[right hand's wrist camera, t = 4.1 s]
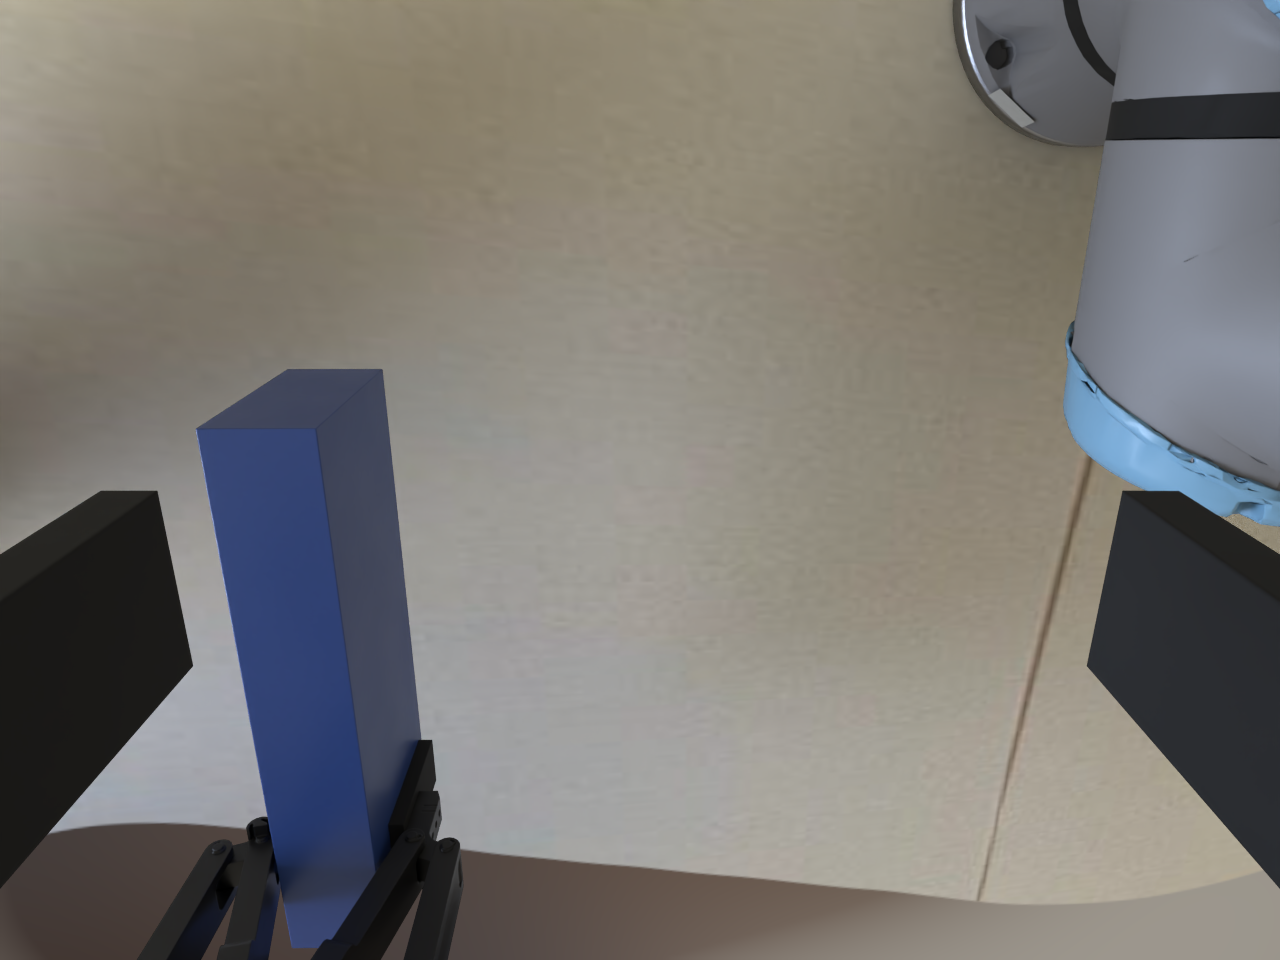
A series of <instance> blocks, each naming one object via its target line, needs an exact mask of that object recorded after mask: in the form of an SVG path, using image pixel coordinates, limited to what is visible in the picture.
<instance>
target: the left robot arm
mask: <svg viewBox="0 0 1280 960" xmlns="http://www.w3.org/2000/svg"><path fill="white" fill-rule="evenodd" d="M435 782H436V774H435V764H434V754H433V744H432V740H418V743H417V746H416V749H415V751H414V754H413V757H412V760H411V763H410V765H409V768H408V771H407V774H406V776H405V779H404V782H403V785H402V787H401V790H400V793H399V796H398V799H397V801H396V804H395V807H394V810H393V812H392V815H391V818H390V821H389V824H388V828H389V836H390V844H391V850H390V852H389V853H388V855H387V856H386V858H385V859H384V861H383V862H382V864H381V865H380V867H379V868H378V870H377V871H376V873H375V874H374V876H373V877H372V879H371V881H370V882H369V884H368V885H367V887H366V888H365V890H364V891H363V893H362V894H361V896H360V897H359V899H358V900H357V902H356V903H355V905H354V906H353V908H352V909H351V911H350V912H349V914H348V916H347V917H346V919H345V920H344V922H343V923H342V925H341V926H340V928H339V929H338V931H337V932H336V934H335V935H334V937H333V938H332V939H331V940H329V939H326V940H324V941H323V942H322V943H321V945H320V946H319V948H318V949H317V951H316V952H315V954H314V955H313V957H312V959H311V960H381V958H382V957H383V955H384V953H385V951H386V950H387V948H388V946H389V945H390V943H391V941H392V939H393V937H394V936H395V934H396V932H397V931H398V929H399V927H400V926H401V924H402V922H403V920H404V919H405V917H406V915H407V914H408V912H409V910H410V908H411V906H412V905H413V903H414V901H415V900H416V898H417V896H418V895H419V893H420V891H421V889H423V890H422V894H421V898H420V901H419V905H418V909H417V912H416V916H415V920H414V924H413V927H412V931H411V935H410V938H409V942H408V946H407V949H406V953H405V957H404V960H448V955H449V951H450V946H451V941H452V937H453V932H454V928H455V923H456V918H457V914H458V909H459V904H460V900H461V895H462V890H463V873H462V862H461V852H460V843H459V841H458V840H457V839H455V838H444V839H442V840H439V841H438V842H437V841H436V838H437V835H438V831H439V827H440V824H441V820H442V816H441V806H440V797H439V793H438V791H433V788H434V785H435ZM246 829H247V834H248V839H249V841H248V842H245V843H242V844H237V845H233V846H232V843H231V842H230V841H229V840H218V841H215V842H213V843H212V844H210V845H209V846H208V847H207V848H206V849H205V851H204V853H203V854H202V856H201V857H200V859H199V860H198V862H197V864H196V865H195V867H194V869H193V870H192V872H191V873H190V875H189V877H188V878H187V880H186V881H185V883H184V885H183V886H182V888H181V890H180V891H179V893H178V894H177V896H176V898H175V899H174V901H173V903H172V904H171V906H170V907H169V909H168V911H167V912H166V914H165V915H164V917H163V919H162V920H161V922H160V923H159V925H158V927H157V928H156V930H155V932H154V933H153V935H152V936H151V938H150V940H149V941H148V943H147V944H146V946H145V948H144V949H143V951H142V953H141V954H140V956H139V957H138V959H137V960H201V959H202V957H203V955H204V953H205V951H206V949H207V948H208V946H209V944H210V942H211V940H212V938H213V936H214V935H215V933H216V931H217V929H218V927H219V925H220V924H221V922H222V920H223V918H224V916H225V914H226V912H227V911H228V909H229V907H230V905H231V903H232V901H233V900H234V898H235V902H234V906H233V910H232V915H231V919H230V923H229V927H228V932H227V936H226V940H225V944H224V945H222V946H221V947H220V949H219V952H218V956H217V960H268V957H269V951H270V946H271V940H272V934H273V929H274V922H275V917H276V911H277V906H278V900H279V894H280V888H281V886H280V880H279V875H278V870H277V864H276V859H275V854H274V848H273V843H272V837H271V832H270V827H269V821H268V817H260V818H256V819H254V820H252V821H251V822H250V823H249V824H248V825H247V827H246ZM235 896H236V897H235Z"/></svg>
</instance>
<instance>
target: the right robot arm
mask: <svg viewBox="0 0 1280 960" xmlns="http://www.w3.org/2000/svg"><path fill="white" fill-rule="evenodd" d="M953 22H954V31H955V38H956V44H957V48H958V52H959V56H960V59H961V62H962V64H963V67H964V70H965V72H966V74H967V76H968V79H969V81H970V83H971V84H972V86H973V88H974V89H975V91H976V93H977V94H978V96H979V97H980V98H981V100H982V101H983V102H984V104H985V105H986V106H987V107H988V108H989V109H990V110H991V111H992V112H993V113H994V114H995V115H996V116H997V117H998V118H999V119H1000V120H1002V121H1003V122H1004V123H1005V124H1007V125H1008V126H1010V127H1011V128H1013V129H1014V130H1016V131H1018V132H1020V133H1022V134H1024V135H1026V136H1028V137H1030V138H1033V139H1036V140H1038V141H1041V142H1045V143H1049V144H1054V145H1061V146H1078V147H1088V146H1104V149H1103V155H1102V161H1101V167H1100V173H1099V179H1098V185H1097V191H1096V197H1095V203H1094V209H1093V215H1092V221H1091V227H1090V233H1089V239H1088V245H1087V251H1086V257H1085V263H1084V269H1083V275H1082V281H1081V287H1080V293H1079V299H1078V305H1077V311H1076V317H1075V321H1073V322H1072V323H1071V324H1070V326H1069V328H1068V331H1067V335H1066V341H1065V345H1066V350H1067V358H1068V368H1067V376H1066V384H1065V393H1064V401H1063V408H1064V415H1065V418H1066V420H1067V422H1068V427H1069V429H1070V431H1071V433H1072V436H1073V438H1074V439H1075V441H1076V442H1077V443H1078V445H1079V446H1080V447H1081V448H1082V449H1083V450H1084V451H1085V452H1086V453H1087V454H1088V455H1089V456H1090V457H1091V458H1092V459H1093V460H1095V461H1096V462H1097V463H1099V464H1100V465H1101V466H1103V467H1104V468H1105V469H1107V470H1108V471H1110V472H1112V473H1113V474H1115V475H1117V476H1118V477H1120V478H1122V479H1124V480H1126V481H1128V482H1129V483H1131V484H1133V485H1135V486H1137V487H1140V488H1142V489H1144V490H1146V491H1123V492H1122V497H1121V501H1120V506H1119V511H1118V516H1117V521H1116V526H1115V531H1114V536H1113V541H1112V545H1111V550H1110V555H1109V560H1108V565H1107V570H1106V575H1105V580H1104V585H1103V589H1102V594H1101V599H1100V604H1099V609H1098V614H1097V619H1096V624H1095V629H1094V634H1093V638H1092V643H1091V648H1090V653H1089V658H1088V663H1087V667H1088V668H1089V669H1090V670H1091V671H1092V672H1093V674H1094V675H1095V676H1096V677H1097V678H1098V679H1099V681H1100V682H1101V683H1102V684H1103V685H1104V686H1105V687H1106V689H1107V690H1108V691H1109V692H1110V693H1111V694H1112V696H1113V697H1114V698H1115V699H1116V700H1117V701H1118V702H1119V704H1120V705H1121V706H1122V707H1123V708H1124V709H1125V711H1126V712H1127V713H1128V714H1129V715H1130V716H1131V717H1132V719H1133V720H1134V721H1135V722H1136V723H1137V724H1138V726H1139V727H1140V728H1141V729H1142V730H1143V731H1144V732H1145V734H1146V735H1147V736H1148V737H1149V738H1150V739H1151V741H1152V742H1153V743H1154V744H1155V745H1156V746H1157V747H1158V749H1159V750H1160V751H1161V752H1162V753H1163V754H1164V756H1165V757H1166V758H1167V759H1168V760H1169V761H1170V762H1171V764H1172V765H1173V766H1174V767H1175V768H1176V769H1177V771H1178V772H1179V773H1180V774H1181V775H1182V776H1183V777H1184V779H1185V780H1186V781H1187V782H1188V783H1189V784H1190V786H1191V787H1192V788H1193V789H1194V790H1195V791H1196V792H1197V794H1198V795H1199V796H1200V797H1201V798H1202V799H1203V801H1204V802H1205V803H1206V804H1207V805H1208V806H1209V807H1210V809H1211V810H1212V811H1213V812H1214V813H1215V814H1216V816H1217V817H1218V818H1219V819H1220V820H1221V821H1222V822H1223V824H1224V825H1225V826H1226V827H1227V828H1228V829H1229V831H1230V832H1231V833H1232V834H1233V835H1234V836H1235V837H1236V839H1237V840H1238V841H1239V842H1240V843H1241V844H1242V846H1243V847H1244V848H1245V849H1246V850H1247V851H1248V852H1249V854H1250V855H1251V856H1252V857H1253V858H1254V859H1255V861H1256V862H1257V863H1258V864H1259V865H1260V866H1261V867H1262V869H1263V870H1264V871H1265V872H1266V873H1267V874H1268V876H1269V877H1270V878H1271V879H1272V880H1273V881H1274V882H1275V884H1276V885H1277V886H1278V887H1279V888H1280V554H1278V553H1277V552H1275V551H1273V550H1272V549H1270V548H1269V547H1267V546H1265V545H1264V544H1262V543H1261V542H1259V541H1258V540H1256V539H1254V538H1253V537H1251V536H1250V535H1248V534H1246V533H1245V532H1243V531H1242V530H1240V529H1239V528H1237V527H1235V526H1234V525H1232V524H1231V523H1229V522H1228V521H1226V520H1224V519H1223V518H1221V517H1220V516H1224V517H1228V516H1230V515H1231V514H1241V515H1243V516H1245V517H1248V518H1250V519H1252V520H1254V521H1255V522H1257V523H1259V524H1263V525H1271V526H1278V527H1280V0H953ZM1218 515H1219V516H1218ZM192 667H193V663H192V658H191V653H190V648H189V643H188V638H187V634H186V629H185V624H184V619H183V614H182V609H181V604H180V599H179V594H178V589H177V585H176V580H175V575H174V570H173V565H172V560H171V555H170V550H169V545H168V541H167V536H166V531H165V526H164V521H163V516H162V511H161V506H160V501H159V497H158V492H157V491H100V492H98V493H97V494H95V495H94V496H92V497H90V498H89V499H87V500H86V501H84V502H83V503H81V504H79V505H78V506H76V507H75V508H73V509H71V510H70V511H68V512H67V513H65V514H64V515H62V516H60V517H59V518H57V519H56V520H54V521H52V522H51V523H49V524H48V525H46V526H45V527H43V528H41V529H40V530H38V531H37V532H35V533H33V534H32V535H30V536H29V537H27V538H26V539H24V540H22V541H21V542H19V543H18V544H16V545H15V546H13V547H11V548H10V549H8V550H7V551H5V552H3V553H2V554H0V888H1V887H2V886H3V885H4V884H5V882H6V881H7V880H8V879H9V878H10V877H11V876H12V874H13V873H14V872H15V871H16V870H17V869H18V867H19V866H20V865H21V864H22V863H23V862H24V861H25V859H26V858H27V857H28V856H29V855H30V854H31V852H32V851H33V850H34V849H35V848H36V847H37V845H38V844H39V843H40V842H41V841H42V840H43V839H44V837H45V836H46V835H47V834H48V833H49V832H50V831H51V829H52V828H53V827H54V826H55V825H56V824H57V822H58V821H59V820H60V819H61V818H62V817H63V816H64V814H65V813H66V812H67V811H68V810H69V809H70V807H71V806H72V805H73V804H74V803H75V802H76V801H77V799H78V798H79V797H80V796H81V795H82V794H83V792H84V791H85V790H86V789H87V788H88V787H89V786H90V784H91V783H92V782H93V781H94V780H95V779H96V777H97V776H98V775H99V774H100V773H101V772H102V771H103V769H104V768H105V767H106V766H107V765H108V764H109V762H110V761H111V760H112V759H113V758H114V757H115V756H116V754H117V753H118V752H119V751H120V750H121V749H122V747H123V746H124V745H125V744H126V743H127V742H128V741H129V739H130V738H131V737H132V736H133V735H134V734H135V732H136V731H137V730H138V729H139V728H140V727H141V726H142V724H143V723H144V722H145V721H146V720H147V719H148V717H149V716H150V715H151V714H152V713H153V712H154V711H155V709H156V708H157V707H158V706H159V705H160V704H161V702H162V701H163V700H164V699H165V698H166V697H167V696H168V694H169V693H170V692H171V691H172V690H173V689H174V687H175V686H176V685H177V684H178V683H179V682H180V681H181V679H182V678H183V677H184V676H185V675H186V674H187V672H188V671H189V670H190V669H191V668H192Z"/></svg>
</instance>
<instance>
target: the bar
mask: <svg viewBox="0 0 1280 960" xmlns="http://www.w3.org/2000/svg"><path fill="white" fill-rule="evenodd" d="M196 434H197V439H198V444H199V450H200V455H201V461H202V466H203V471H204V477H205V482H206V488H207V493H208V498H209V504H210V509H211V514H212V520H213V525H214V531H215V536H216V541H217V547H218V552H219V557H220V563H221V568H222V574H223V579H224V584H225V590H226V595H227V601H228V606H229V611H230V617H231V622H232V627H233V633H234V638H235V644H236V649H237V654H238V660H239V665H240V671H241V676H242V681H243V687H244V692H245V697H246V703H247V708H248V714H249V719H250V724H251V730H252V735H253V741H254V746H255V751H256V757H257V762H258V767H259V773H260V778H261V784H262V789H263V794H264V800H265V805H266V810H267V816H268V821H269V827H270V832H271V837H272V843H273V848H274V854H275V859H276V864H277V870H278V875H279V880H280V886H281V891H282V897H283V902H284V907H285V913H286V918H287V924H288V929H289V934H290V940H291V945H292V948H319V946H320V945H321V943H322V942H323V941H324V940H326V939H329V940H331V939H332V938H333V937H334V935H335V934H336V932H337V931H338V929H339V928H340V926H341V925H342V923H343V922H344V920H345V919H346V917H347V916H348V914H349V912H350V911H351V909H352V908H353V906H354V905H355V903H356V902H357V900H358V899H359V897H360V896H361V894H362V893H363V891H364V890H365V888H366V887H367V885H368V884H369V882H370V881H371V879H372V877H373V876H374V874H375V873H376V871H377V870H378V868H379V867H380V865H381V864H382V862H383V861H384V859H385V858H386V856H387V855H388V853H389V852H390V850H391V844H390V836H389V828H388V824H389V821H390V818H391V815H392V812H393V810H394V807H395V804H396V801H397V799H398V796H399V793H400V790H401V787H402V785H403V782H404V779H405V776H406V774H407V771H408V768H409V765H410V763H411V760H412V757H413V754H414V751H415V749H416V746H417V743H418V740H421V732H420V722H419V713H418V703H417V694H416V684H415V675H414V665H413V656H412V646H411V637H410V627H409V617H408V608H407V598H406V589H405V579H404V570H403V560H402V551H401V541H400V532H399V522H398V513H397V503H396V494H395V484H394V475H393V465H392V456H391V446H390V437H389V427H388V417H387V408H386V398H385V389H384V379H383V370H382V369H287V370H286V371H284V372H283V373H281V374H280V375H278V376H276V377H275V378H273V379H272V380H270V381H269V382H267V383H266V384H264V385H263V386H261V387H260V388H258V389H256V390H255V391H253V392H252V393H250V394H249V395H247V396H246V397H244V398H243V399H241V400H239V401H238V402H236V403H235V404H233V405H232V406H230V407H229V408H227V409H226V410H224V411H223V412H221V413H219V414H218V415H216V416H215V417H213V418H212V419H210V420H209V421H207V422H206V423H204V424H202V425H201V426H199V427H198V428H196Z"/></svg>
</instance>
